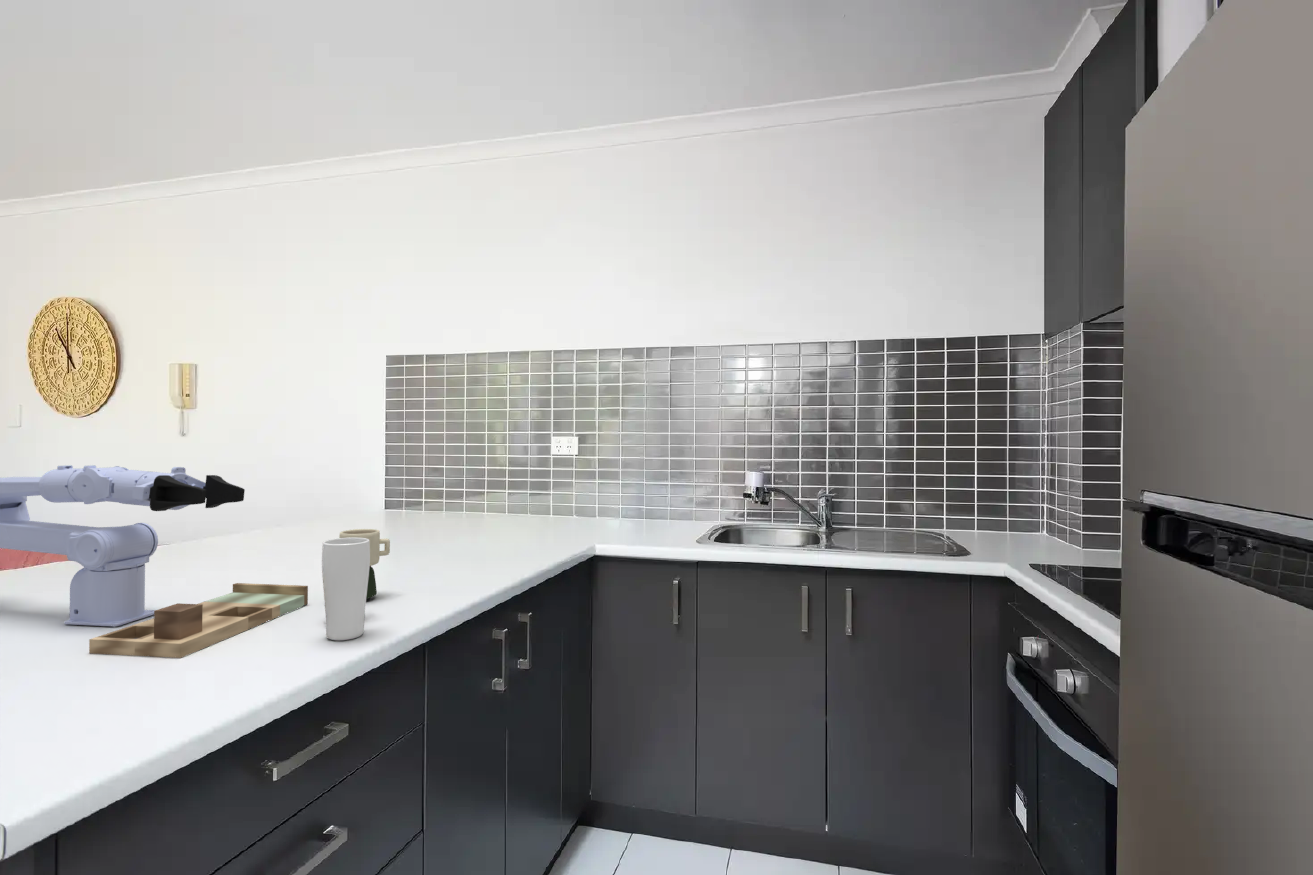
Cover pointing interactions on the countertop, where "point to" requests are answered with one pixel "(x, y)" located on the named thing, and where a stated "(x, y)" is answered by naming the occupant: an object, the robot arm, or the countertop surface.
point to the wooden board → (207, 622)
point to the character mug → (374, 552)
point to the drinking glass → (345, 586)
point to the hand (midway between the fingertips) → (224, 495)
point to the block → (177, 621)
